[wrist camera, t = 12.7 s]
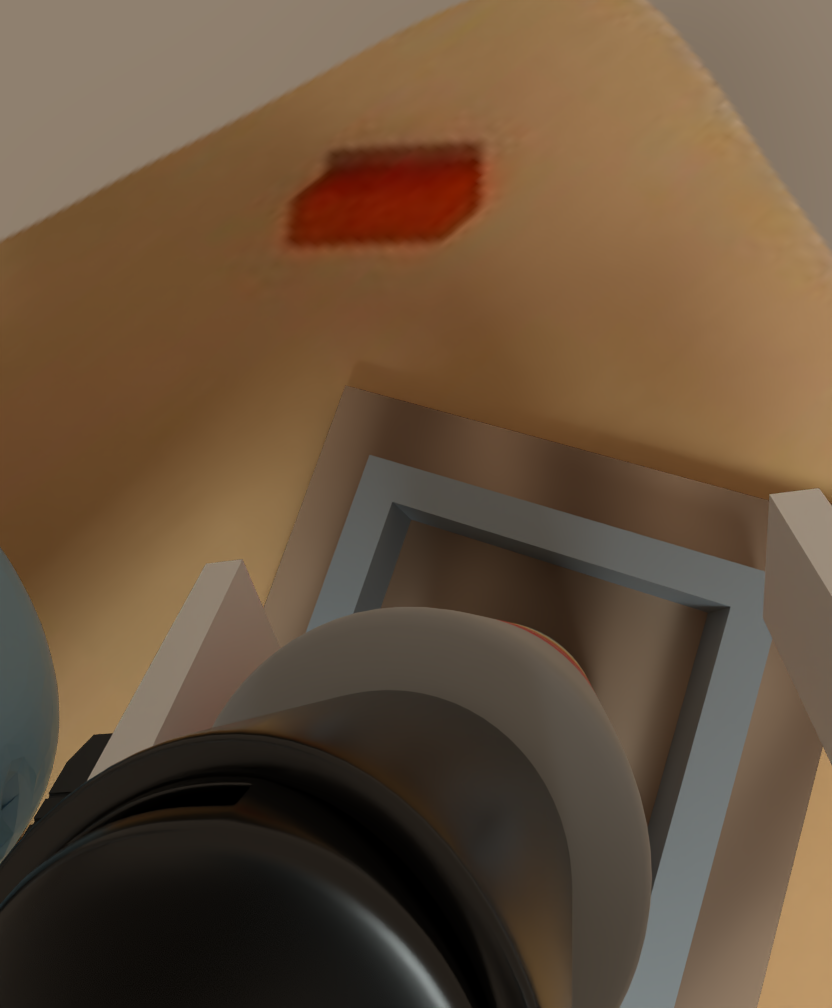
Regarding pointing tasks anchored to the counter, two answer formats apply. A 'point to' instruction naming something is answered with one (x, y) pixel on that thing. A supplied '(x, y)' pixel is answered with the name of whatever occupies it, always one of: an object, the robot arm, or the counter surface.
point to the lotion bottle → (350, 839)
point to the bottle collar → (630, 563)
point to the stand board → (589, 633)
